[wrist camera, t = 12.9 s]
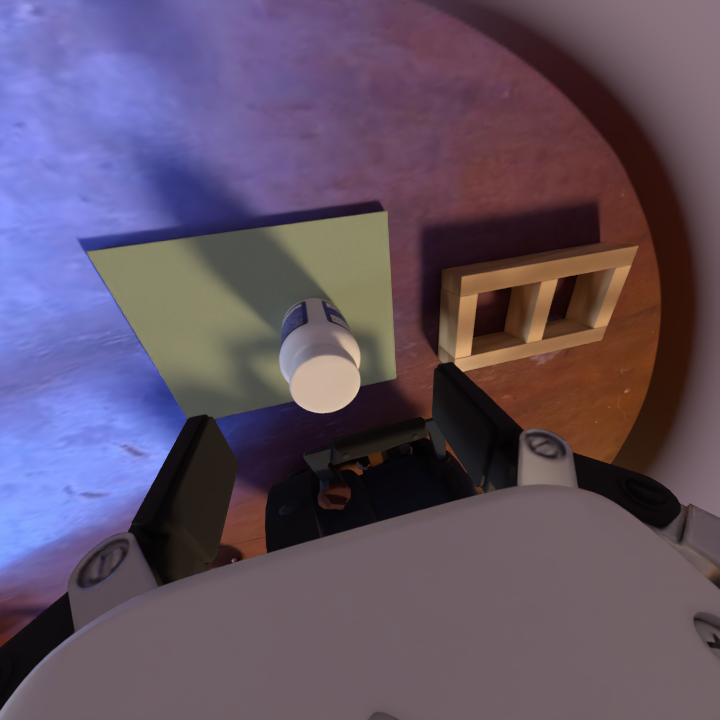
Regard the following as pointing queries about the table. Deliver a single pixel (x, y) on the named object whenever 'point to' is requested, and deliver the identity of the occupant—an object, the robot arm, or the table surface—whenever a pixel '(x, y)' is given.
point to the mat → (251, 304)
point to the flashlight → (365, 483)
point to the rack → (531, 303)
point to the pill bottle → (319, 356)
